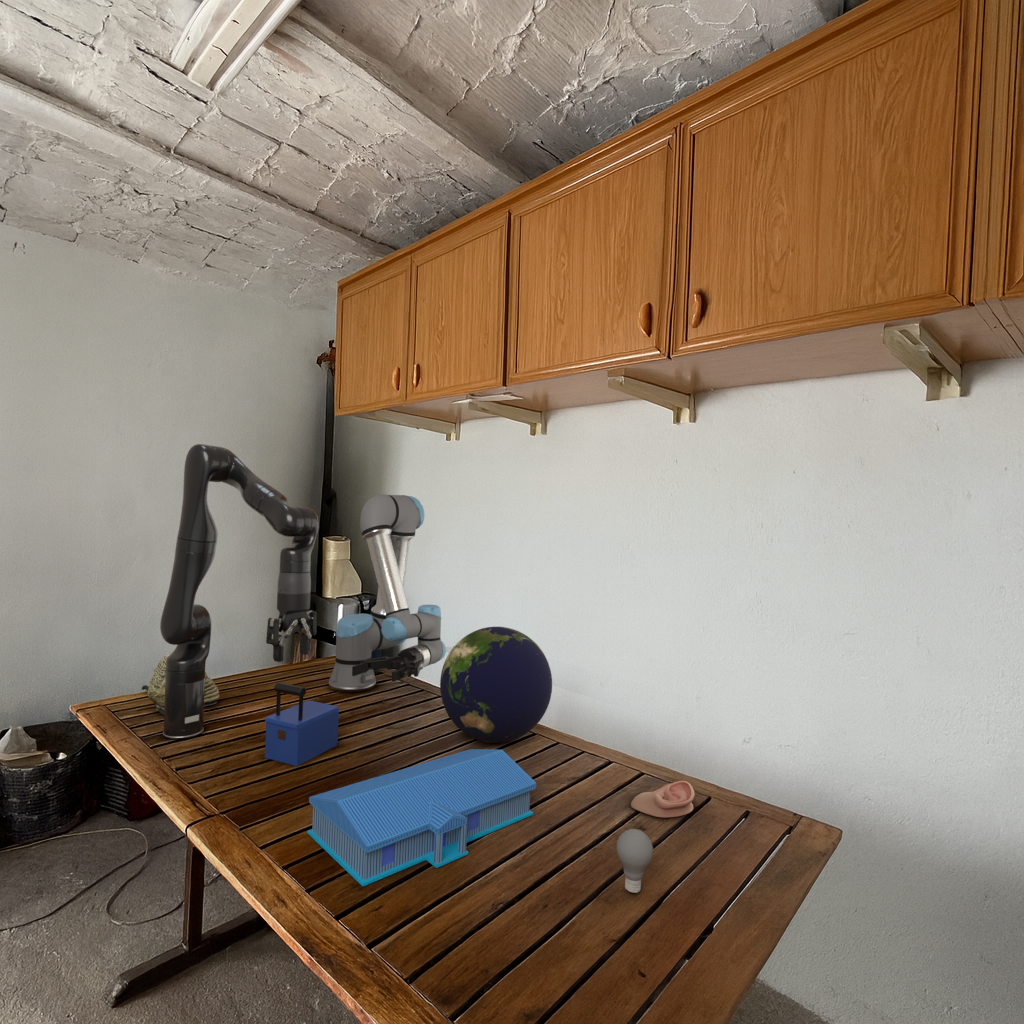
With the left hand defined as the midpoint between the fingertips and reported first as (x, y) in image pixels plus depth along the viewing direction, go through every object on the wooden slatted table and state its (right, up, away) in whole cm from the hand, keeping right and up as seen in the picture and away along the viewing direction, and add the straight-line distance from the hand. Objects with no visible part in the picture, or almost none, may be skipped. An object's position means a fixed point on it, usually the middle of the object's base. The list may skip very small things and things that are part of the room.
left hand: (291, 657), depth 152 cm
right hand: (+13, -11, +29) cm, 34 cm away
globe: (+48, -26, +18) cm, 58 cm away
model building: (+37, -27, -28) cm, 54 cm away
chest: (+1, -24, +5) cm, 25 cm away
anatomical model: (+85, -28, -15) cm, 91 cm away
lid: (+1, -15, +5) cm, 16 cm away
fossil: (-43, -22, +33) cm, 59 cm away
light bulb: (+73, -29, -46) cm, 91 cm away
